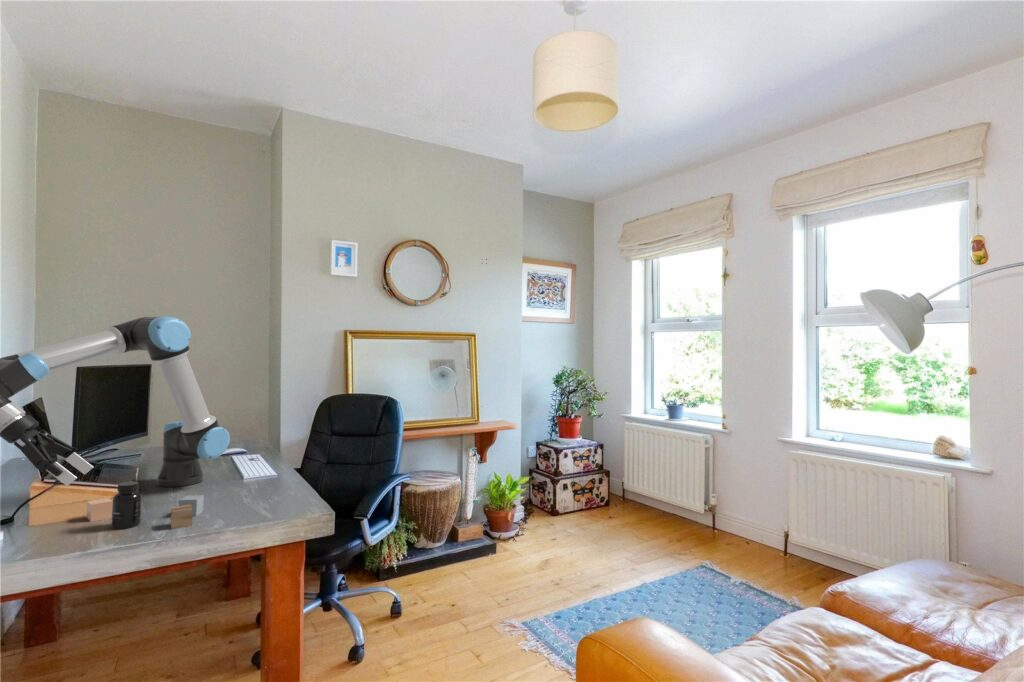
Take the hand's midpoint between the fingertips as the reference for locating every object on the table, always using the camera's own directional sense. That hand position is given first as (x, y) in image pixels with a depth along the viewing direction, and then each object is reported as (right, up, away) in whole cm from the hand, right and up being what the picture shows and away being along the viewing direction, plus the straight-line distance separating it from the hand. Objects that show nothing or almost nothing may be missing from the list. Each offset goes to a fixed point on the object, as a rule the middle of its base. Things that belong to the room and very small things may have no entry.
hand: (81, 476), depth 143 cm
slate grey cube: (+21, -16, +16) cm, 30 cm away
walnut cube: (+24, -16, +5) cm, 29 cm away
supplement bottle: (+9, -15, +4) cm, 19 cm away
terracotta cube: (-3, -15, +10) cm, 19 cm away
